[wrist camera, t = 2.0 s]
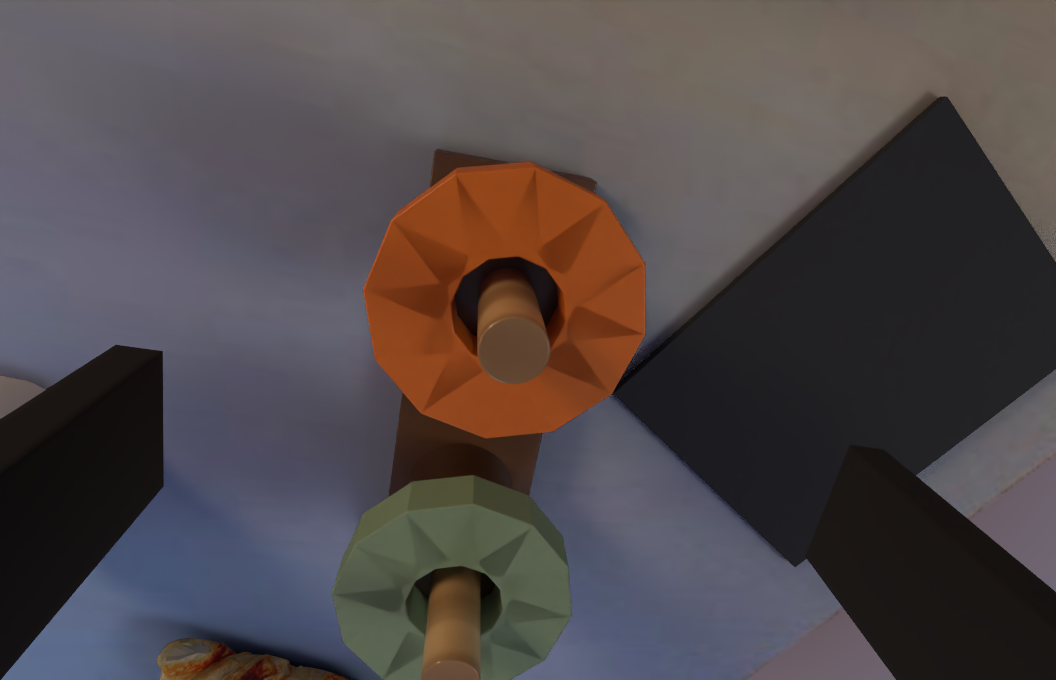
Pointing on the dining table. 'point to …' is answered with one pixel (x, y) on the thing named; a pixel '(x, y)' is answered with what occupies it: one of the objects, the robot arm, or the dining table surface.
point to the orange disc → (490, 233)
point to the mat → (859, 334)
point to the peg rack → (447, 451)
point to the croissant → (229, 664)
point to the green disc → (449, 541)
